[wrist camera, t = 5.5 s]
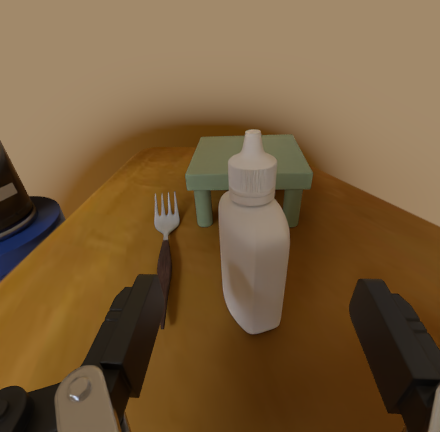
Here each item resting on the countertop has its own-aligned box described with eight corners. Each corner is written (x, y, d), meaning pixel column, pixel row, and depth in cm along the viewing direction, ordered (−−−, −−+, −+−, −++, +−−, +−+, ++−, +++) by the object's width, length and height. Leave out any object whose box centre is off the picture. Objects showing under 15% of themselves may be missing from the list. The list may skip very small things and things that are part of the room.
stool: (192, 229, 26) (184, 174, 23) (204, 181, 35) (200, 136, 32) (304, 230, 25) (313, 172, 22) (287, 180, 35) (292, 134, 31)
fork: (142, 337, 17) (135, 318, 16) (156, 208, 30) (153, 193, 29) (183, 330, 17) (179, 311, 16) (179, 206, 30) (176, 190, 29)
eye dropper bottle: (281, 275, 21) (299, 116, 14) (279, 342, 16) (305, 154, 9) (226, 269, 22) (219, 116, 15) (210, 331, 17) (189, 151, 10)
